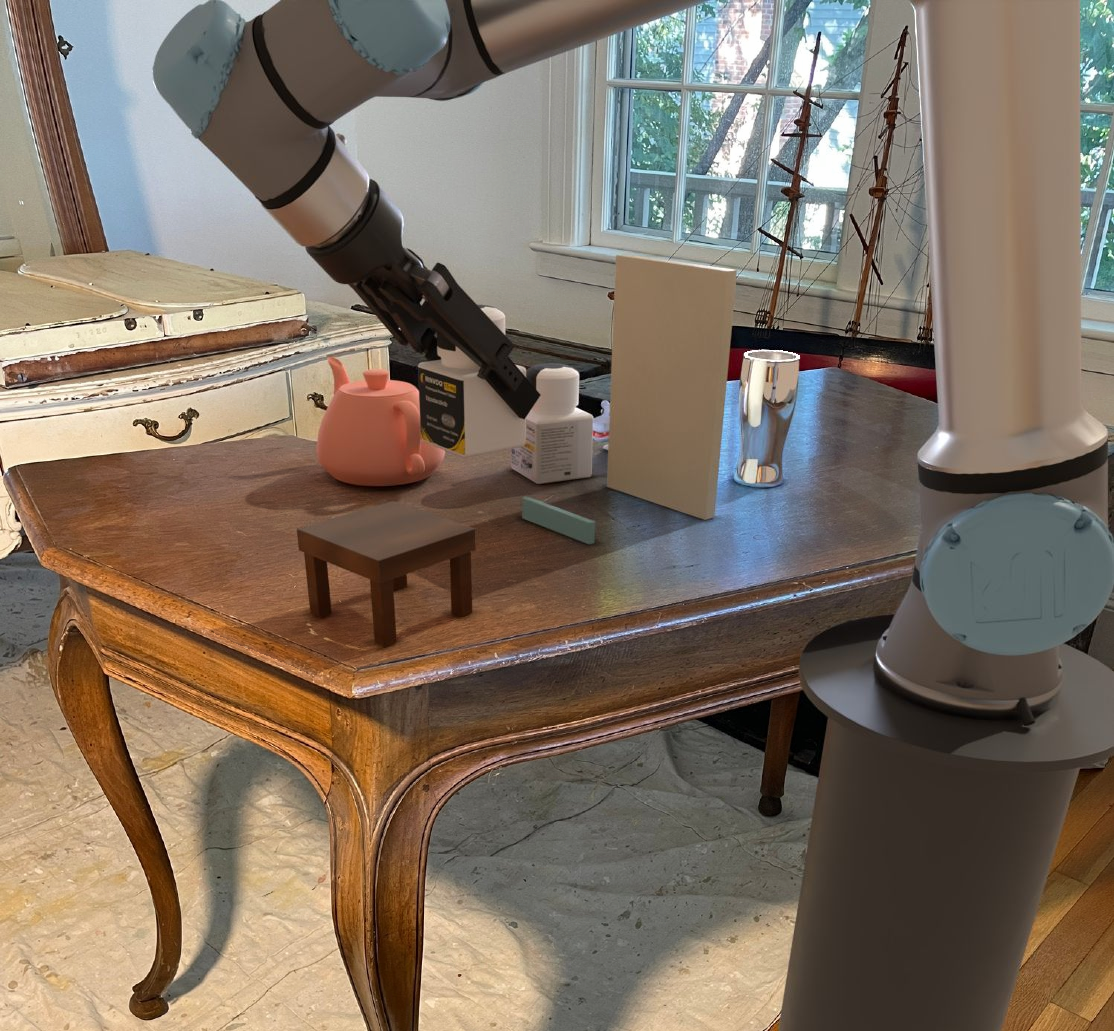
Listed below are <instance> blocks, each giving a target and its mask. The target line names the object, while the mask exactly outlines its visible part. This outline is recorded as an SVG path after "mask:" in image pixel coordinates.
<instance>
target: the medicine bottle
mask: <svg viewBox="0 0 1114 1031" xmlns="http://www.w3.org/2000/svg"><path fill="white" fill-rule="evenodd" d="M476 304H477V305H478V306H479V308H480V309H481V310H482V311H483V312H484V313H485V314H486V315H487V316H488V317H489V318H490V319H491V320H492V322H493V323H494V324H495V325H496V326H497V327H498V328H499V329H500V330H501V331H502V332H503V333H504V334H505V335H506V315H505V314H504V312H503V311H502V310H500V309H498V308H496V307H495V306H492V305H486V304H479V303H476ZM436 338H437V354H438V356H440V357H441V360H435V361H428V360H427V361H422V362H419V364H418V365H417V376H418V377H417V378H418V379H417V380H418V391H419V405H420V428H421V440H422V441H423V442H425V443H427V444H430V445H432V446H435V447H438V448H440V449H443V450H445V452H448V453H451V454H453V455H455V456H458V457H461V458H463V459H466V458H467V459H468V458H471V457H472V458H473V457H477V456H481V455H487V454H491V453H497V452H498V453H499V452H503V451H506V450H511V449H513V448H518V447H523V446H524V445H525V443H526V418H525V420H524V419H521V418H519V417H518V416H517V415H516V414H515V413H514V411H513V410H512V409H511V408H510V407H509V406H508V405H507V404H506V402H505V401H504V400H503V399H502V398H501V397H500V396H499V395H498V394H497V392H496V391H495V390H494V389H493V388H492V387H491V386H490V385H489V383H488V382H487V381H486V380H483V379H481V378H479V377H478V376H477V374H478V373H479V372H478V371H479V370H480V367H479V366H478V365H477V364H476V363H475V362H474V361H472V360H471V359H470V358H469V357H468V356H467V355H466V354H464V353H463V352H462V351H461V350H460V349H459V348H458V347H456V346H455V345H454V344H453V343H452V342H451V341H450V340H448V339H447V338H446V337H445V336H444V335H443V334H442V333H441V332H439V331H438V330H437V333H436ZM515 365H516V366H517V367H518V369H519V370H520V371H521V372H522V373H523V374H524V376H525V377H526V371H527V369H526V367H525V366H522V365H519V364H515Z"/></svg>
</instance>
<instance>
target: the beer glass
mask: <svg viewBox="0 0 1114 1031" xmlns="http://www.w3.org/2000/svg"><path fill="white" fill-rule="evenodd" d="M800 359H801V357H800V355H798V354H796V353H793V352H788V351H783V350H769V349H761V350H760V349H759V350H750V351H747V352H744V353H743V359H742V363H741V364H742V365H741V370H740V374H739V375H740V376H739V382H738V383H739V384H738V392H737V419H738V432H739V453H738V459H737V462H736V467H735V470H734V474H733V481H734V482H735V483H737V484H740V485H742V486H746V487H750V488H761V489H762V488H774V487H777V486H780V485H782V484H783V483H784V469H783V456H784V455H783V454H784V450H785V449H784V448H785V444H786V441H787V437H788V434H789V431H790V427H791V423H792V420H793V416H794V413H795V409H796V403H797V399H798V389H799V374H800Z"/></svg>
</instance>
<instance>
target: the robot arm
mask: <svg viewBox="0 0 1114 1031" xmlns="http://www.w3.org/2000/svg"><path fill="white" fill-rule="evenodd" d="M710 1H712V0H279V1H278V2H276V3H275V4H274V5H272V6H271V7H269V9H267V10H266V11H264V12H263V13H260V14H258V15H256V16H254V17H253V18H252V19H251V20H249V21H246V19H245V18H243V17H242V15H241V14H240V13H237V11H235V9H234V8H232V7H231V6H230V5H229V4H228V3H227V2H226V1H223V0H208V1H206V2H205V3H203V4H202V3H199V4H197V5H196V6H194V7H193V8H192V9H190V10H189V11H188V12H187V13H186V14H184V15H183V16H182V18H180V19H179V21H178V22H177V23H175V25H174V26H173V27H172V28H171V29H170V31H168V33H167V35H166V36H165V38H164V39H163V41H162V42H161V44H160V46H159V47H158V50H157V51H156V54H155V57H154V62H153V64H152V69H151V70H152V71H151V73H152V83H153V86H154V87H155V90H156V92H157V93H158V94H159V96H160V97H161V98H162V99H163V100H164V101H165V103H166V104H167V105H168V106H169V107H170V108H171V110H172V111H173V112H174V113H175V114H176V115H177V117H178V118H179V120H181V122H183V124H184V125H185V126H186V127H187V128H188V129H189V131H190V134H191V136H192V137H193V138H195V140H199V142H200V143H201V144H203V145H204V147H206V149H207V150H209V152H211V153H212V155H214V156H215V157H216V158H217V159H218V160H219V161H220V162H221V163H222V165H224V166H225V167H226V168H227V169H228V170H229V171H230V173H232V174H233V175H234V177H236V178H237V179H238V180H239V181H240V182H241V183H242V184H243V186H245V187H246V189H247V190H249V191H250V192H251V194H252V195H253V196H254V197H255V199H256V200H257V201H258V202H259V203H260V204H261V207H262V208H263V209H264V210H265V211H266V212H267V213H268V214H269V215H270V217H271V218H272V219H273V220H274V221H275V222H276V223H277V224H278V225H279V226H280V227H281V229H283V230H284V231H285V233H286V234H288V235H289V237H290V238H291V239H292V240H293V241H294V242H295V243H296V244H297V245H299V246H301V247H304V248H305V251H306V253H307V254H308V255H309V256H310V257H311V259H313V261H314V262H315V263H316V264H317V265H318V266H319V267H320V268H321V269H322V270H323V271H324V272H325V273H326V274H327V275H328V276H329V278H331V279H332V280H333V281H334V282H336V283H338V284H341V285H347V286H349V287H350V288H351V289H352V290H353V291H354V292H355V293H356V295H357V296H358V297H359V298H360V299H361V301H362V302H363V303H364V304H365V305H366V306H367V307H368V308H369V309H370V311H371V312H372V314H374V316H375V317H376V318H377V319H378V321H380V323H381V324H382V325H383V326H384V327H385V328H386V330H388V332H389V333H390V334H391V336H393V337H394V339H395V340H396V341H397V343H398V344H399V345H401V346H404V347H407V346H408V345H410V346H411V348H412V350H413V351H415V353H418V354H420V355H423V354H425V355H424V358H425V360H427V361H435V360H441V357H440V356H438V354H437V336H436V335H437V330H438V331H439V332H441V333H442V334H443V335H444V336H445V337H446V338H447V339H448V340H450V341H451V342H452V343H453V344H454V345H455V346H456V347H458V348H459V349H460V350H461V351H462V352H463V353H464V354H466V355H467V356H468V357H469V358H470V359H471V360H472V361H474V362H475V363H476V364H477V365H478V366H479V367H480V370H479V371H478V372H479V373H478V374H477V376H478V377H479V378H481V379H483V380H486V381H487V382H488V383H489V385H490V386H491V387H492V388H493V389H494V390H495V391H496V392H497V394H498V395H499V396H500V397H501V398H502V399H503V400H504V401H505V402H506V404H507V405H508V406H509V407H510V408H511V409H512V410H513V411H514V413H515V414H516V415H517V416H518V417H519V418H521V419H524V420H525V418H526V417H527V415H528V414H529V412H530V411H531V409H532V408H533V406H534V405H535V403H536V402H537V400H538V399H539V397H540V396H541V395H540V393H539V392H538V391H537V390H536V389H535V387H534V386H533V385H532V384H531V383H530V382H529V380H528V379H527V378H526V377H525V376H524V374H523V373H522V372H521V371H520V370H519V369H518V367H517V366H516V365H517V364H516V363H514V362H513V360H512V359H511V357H509V356H510V354H512V352H513V350H514V349H515V344H514V343H513V342H512V341H511V339H509V337H508V336H507V335H506V333H505V334H504V333H503V332H502V331H501V330H500V329H499V328H498V327H497V326H496V325H495V324H494V323H493V322H492V320H491V319H490V318H489V317H488V316H487V315H486V314H485V313H484V312H483V311H482V310H481V309H480V308H479V306H478V305H479V304H478V303H476V302H475V301H474V299H472V298H471V296H469V294H467V292H466V291H465V290H464V289H463V288H462V287H461V286H460V285H459V284H458V282H457V281H456V279H455V277H454V276H453V275H452V273H451V272H450V270H449V269H448V268H447V266H446V265H444V264H443V263H442V262H441V263H440V262H438V261H437V262H436V263H435V264H434V265H433V268H432V269H428V268H427V266H425V263H424V260H423V259H422V258H421V257H420V256H419V255H418V254H417V253H415V251H413V250H412V249H410V248H407V247H404V245H403V232H404V226H405V222H404V217H403V214H402V212H401V210H400V209H399V207H398V206H397V205H396V204H395V203H394V201H393V200H392V199H391V198H390V196H389V195H388V194H387V193H386V192H385V191H384V189H383V188H382V187H381V186H380V185H379V184H378V182H377V181H376V180H374V179H372V178H370V177H369V173H368V172H367V170H366V169H365V168H364V166H363V165H362V164H361V163H360V161H358V160H357V158H356V157H355V156H354V155H353V153H352V152H351V151H350V149H348V148H347V146H346V145H347V143H348V142H347V139H346V138H347V137H345V135H343V134H341V133H335V131H334V129H333V128H332V127H331V125H333V124H334V123H335V122H336V121H338V120H340V119H341V118H342V117H344V116H345V115H347V114H348V113H350V112H351V111H353V110H355V109H357V108H358V107H360V106H362V105H363V104H364V103H366V102H369V100H372V99H373V98H375V97H379V98H414V99H427V100H428V99H429V100H432V101H438V102H447V101H450V100H454V99H459V98H462V97H465V96H467V95H470V94H473V93H474V92H476V91H477V90H478V89H480V87H482V86H483V85H484V84H485V83H486V82H488V81H491V80H494V79H497V78H498V77H500V76H503V75H506V74H508V73H511V72H513V71H517V70H519V69H522V68H526V67H528V66H531V65H532V64H536V63H538V62H542V61H544V60H547V59H550V58H553V57H556V56H559V55H561V54H564V53H567V52H570V51H573V50H575V49H578V48H581V47H583V46H586V45H589V44H591V43H594V42H598V41H601V40H603V39H606V38H609V37H612V36H614V35H618V34H620V33H623V32H627V31H629V30H633V29H636V28H637V27H640V26H643V25H646V24H648V23H652V22H654V21H657V20H659V19H662V18H665V17H668V16H671V15H673V14H676V13H679V12H682V11H685V10H688V9H691V8H694V7H696V6H699V5H702V4H705V3H708V2H710ZM908 2H909V3H910V5H911V7H912V8H913V11H914V24H915V40H916V41H915V42H916V56H917V57H916V58H917V60H916V61H917V73H918V75H917V76H918V90H919V91H918V93H919V107H920V108H919V109H920V110H919V111H920V123H921V124H920V126H921V141H922V142H921V143H922V160H923V174H924V191H925V192H924V194H925V206H926V207H925V210H926V224H927V226H926V227H927V243H928V259H929V260H928V261H929V262H928V263H929V276H930V277H929V278H930V293H931V294H930V295H931V312H932V328H933V343H934V344H933V345H934V346H933V347H934V358H935V360H934V361H935V362H934V363H935V377H936V395H937V410H938V412H937V414H938V425H937V428H936V430H935V432H933V434H932V435H931V436H930V437H929V438H928V440H926V442H925V443H924V444H923V445H922V447H921V448H919V450H918V452H917V453H916V454H917V456H916V458H917V460H916V461H917V472H918V489H919V505H920V518H921V519H920V520H921V522H920V523H921V527H920V533H919V538H918V544H917V548H916V553H915V560H914V564H913V565H914V566H913V571H912V576H911V580H910V584H909V587H908V590H907V591H906V593H905V595H904V596H903V597H902V600H901V602H900V604H899V605H898V607H897V609H896V611H895V613H894V614H895V615H894V617H893V620H892V622H891V624H890V627H889V629H887V630H886V631H885V632H884V634H883V635H882V637H881V639H880V640H879V642H878V644H877V648H876V654H875V659H874V665H873V670H874V673H875V675H876V677H877V679H878V680H879V682H880V683H881V684H882V685H883V686H884V687H885V688H887V689H888V690H889V691H891V692H892V693H893V694H895V695H897V696H898V697H900V698H902V699H904V700H906V701H908V702H910V703H912V704H914V705H917V706H919V707H922V708H925V709H928V710H931V711H934V712H937V713H941V714H945V715H950V716H954V717H960V718H966V719H974V720H987V721H1006V720H1017V719H1022V721H1023V723H1024V726H1029V725H1032V724H1034V723H1035V719H1034V717H1033V716H1036V715H1038V714H1041V713H1043V712H1045V711H1047V710H1048V709H1050V708H1051V707H1052V706H1053V705H1054V704H1055V703H1056V701H1057V699H1058V696H1059V692H1060V688H1061V685H1062V681H1063V676H1064V674H1063V668H1062V662H1061V660H1060V658H1059V645H1060V644H1063V643H1064V644H1065V643H1066V642H1068V641H1070V640H1072V639H1073V638H1075V637H1076V636H1077V635H1078V634H1080V633H1081V632H1083V631H1084V630H1085V629H1086V628H1087V627H1088V626H1089V625H1091V624H1092V623H1093V622H1094V621H1095V620H1096V619H1097V618H1098V617H1099V615H1100V614H1101V612H1102V611H1103V610H1104V608H1105V607H1106V605H1107V603H1108V601H1109V599H1110V597H1111V594H1112V591H1113V589H1114V536H1113V534H1112V532H1111V530H1110V529H1109V432H1108V431H1109V430H1108V428H1107V427H1106V426H1105V425H1104V424H1103V423H1101V422H1100V421H1099V420H1097V419H1096V417H1094V416H1092V415H1091V413H1088V412H1087V411H1086V410H1085V409H1084V407H1083V404H1082V208H1081V207H1082V204H1081V203H1082V192H1081V191H1082V188H1081V187H1082V185H1081V184H1082V182H1081V180H1082V179H1081V176H1082V175H1081V173H1082V172H1081V170H1082V168H1081V160H1082V158H1081V149H1082V148H1081V0H908ZM423 300H424V301H423ZM422 301H423V302H422ZM421 302H422V303H421ZM477 304H478V305H477Z"/></svg>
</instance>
